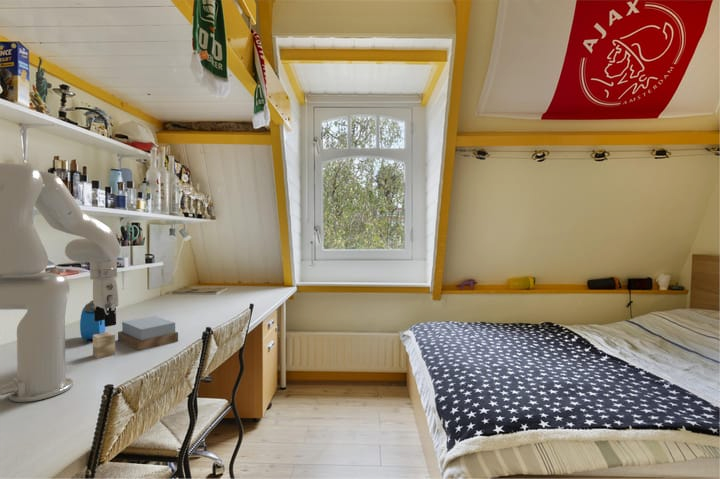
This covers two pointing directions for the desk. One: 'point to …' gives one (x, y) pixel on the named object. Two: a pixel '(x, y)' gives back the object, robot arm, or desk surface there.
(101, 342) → the beech block
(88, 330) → the alarm clock
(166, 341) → the walnut slab
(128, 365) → the desk surface
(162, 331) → the slate slab
